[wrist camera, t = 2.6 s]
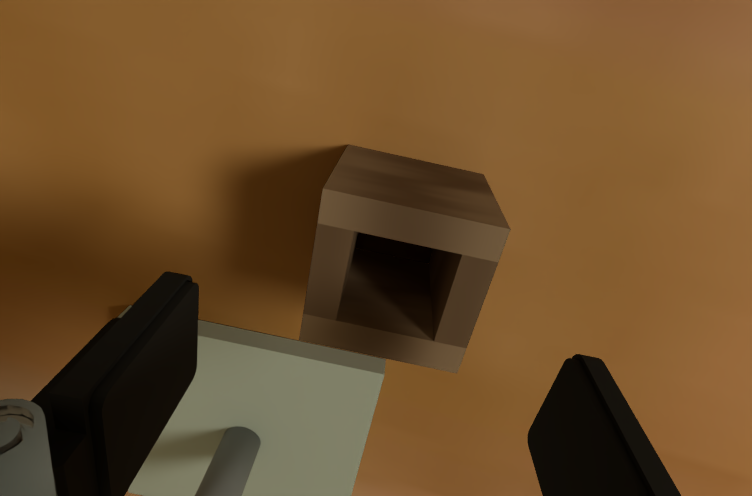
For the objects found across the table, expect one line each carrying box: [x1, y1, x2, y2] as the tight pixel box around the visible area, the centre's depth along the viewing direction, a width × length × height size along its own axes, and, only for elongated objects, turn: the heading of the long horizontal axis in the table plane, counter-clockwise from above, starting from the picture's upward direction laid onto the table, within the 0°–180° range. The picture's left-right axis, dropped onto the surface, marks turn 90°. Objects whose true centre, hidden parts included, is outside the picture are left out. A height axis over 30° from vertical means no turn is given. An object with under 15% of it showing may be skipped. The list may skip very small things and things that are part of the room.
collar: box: [299, 145, 510, 373], centre depth 18 cm, size 6×6×6 cm
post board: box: [118, 305, 386, 496], centre depth 23 cm, size 14×14×8 cm
